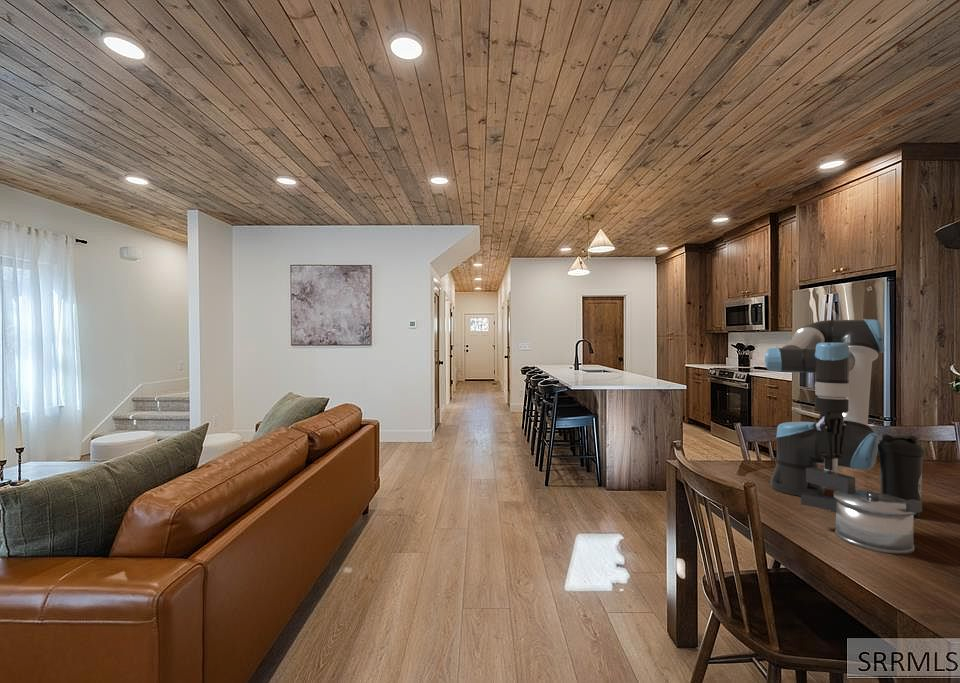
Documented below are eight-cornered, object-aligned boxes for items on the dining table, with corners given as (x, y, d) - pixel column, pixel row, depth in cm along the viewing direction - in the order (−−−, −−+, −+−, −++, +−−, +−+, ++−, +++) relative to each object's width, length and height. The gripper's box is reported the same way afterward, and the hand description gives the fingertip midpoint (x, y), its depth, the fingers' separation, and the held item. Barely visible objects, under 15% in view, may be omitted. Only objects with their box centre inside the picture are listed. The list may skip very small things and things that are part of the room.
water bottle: (928, 521, 129) (929, 440, 129) (881, 514, 134) (881, 436, 134) (918, 510, 137) (918, 434, 137) (874, 503, 143) (874, 430, 143)
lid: (939, 513, 110) (939, 491, 110) (897, 521, 105) (897, 499, 105) (828, 482, 134) (828, 464, 134) (789, 488, 129) (789, 469, 129)
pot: (912, 539, 117) (912, 504, 117) (916, 560, 105) (916, 522, 105) (804, 516, 132) (805, 485, 132) (797, 533, 120) (798, 499, 120)
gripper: (830, 394, 134) (829, 474, 134) (803, 396, 129) (802, 479, 129) (860, 397, 127) (859, 481, 127) (832, 400, 122) (831, 487, 122)
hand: (830, 480), depth 128 cm, fingers closed
